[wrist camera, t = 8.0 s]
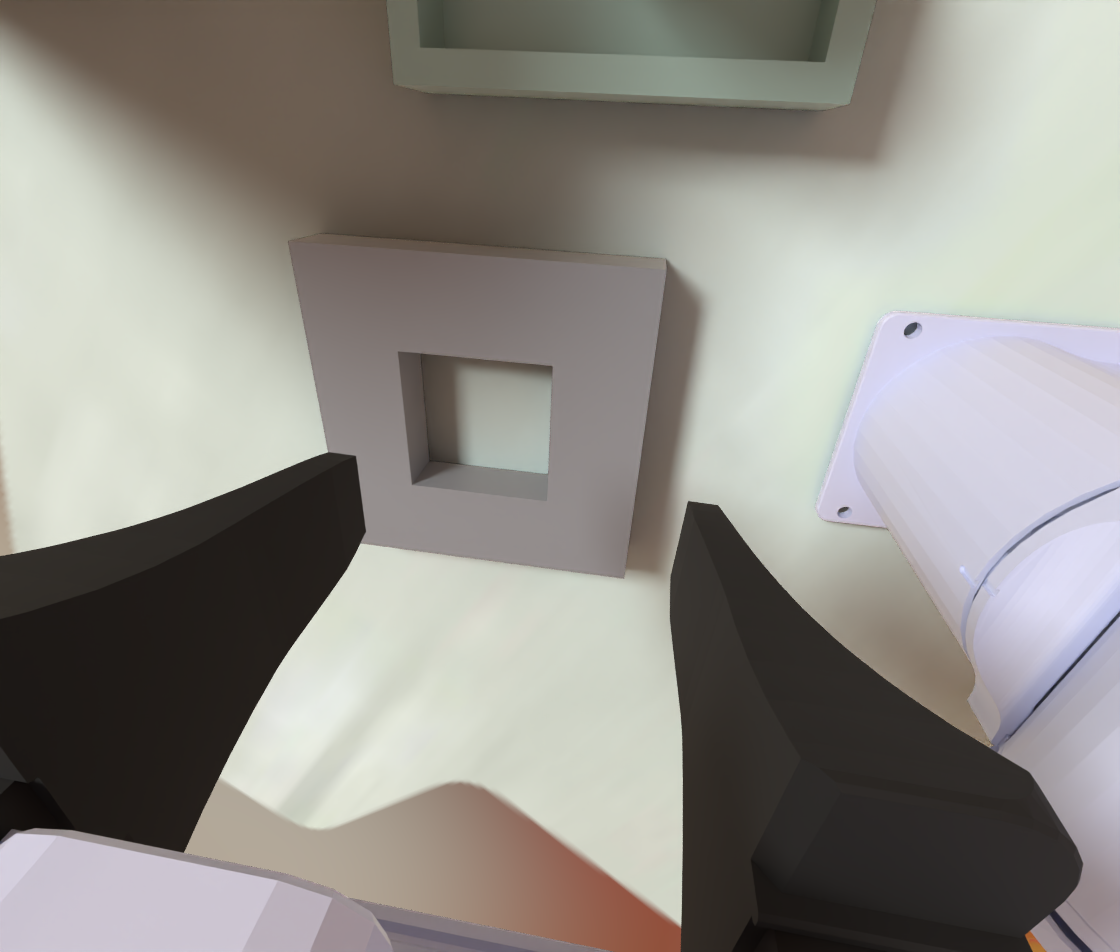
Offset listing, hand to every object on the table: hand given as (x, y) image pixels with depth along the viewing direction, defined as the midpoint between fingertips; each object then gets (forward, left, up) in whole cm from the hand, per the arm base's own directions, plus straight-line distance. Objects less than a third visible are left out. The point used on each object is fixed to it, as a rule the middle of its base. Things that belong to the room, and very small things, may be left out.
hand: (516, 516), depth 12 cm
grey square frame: (+3, +2, -10) cm, 11 cm away
